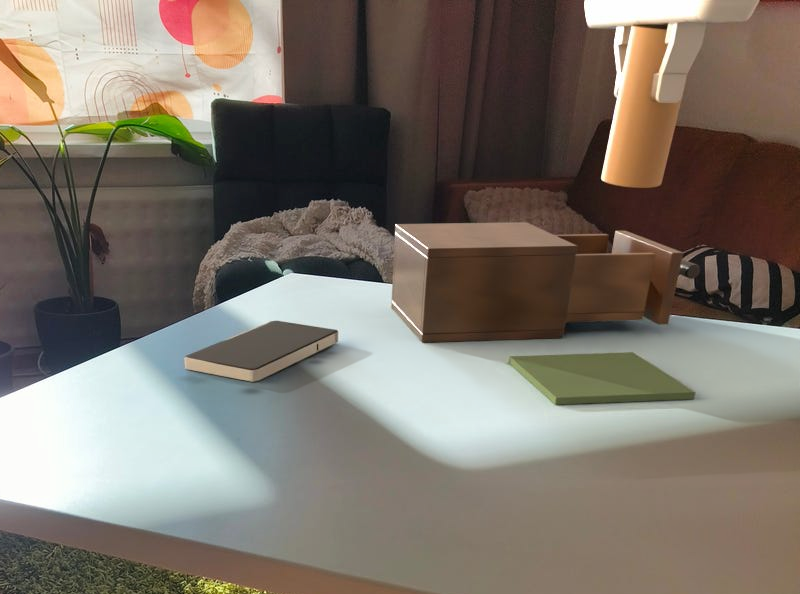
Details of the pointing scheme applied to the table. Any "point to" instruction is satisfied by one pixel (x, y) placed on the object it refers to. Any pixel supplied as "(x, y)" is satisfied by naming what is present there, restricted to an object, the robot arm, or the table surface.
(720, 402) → the table surface
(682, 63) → the robot arm
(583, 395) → the mat
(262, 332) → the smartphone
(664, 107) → the paper roll
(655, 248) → the drawer
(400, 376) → the table surface
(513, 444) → the table surface
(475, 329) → the cabinet
